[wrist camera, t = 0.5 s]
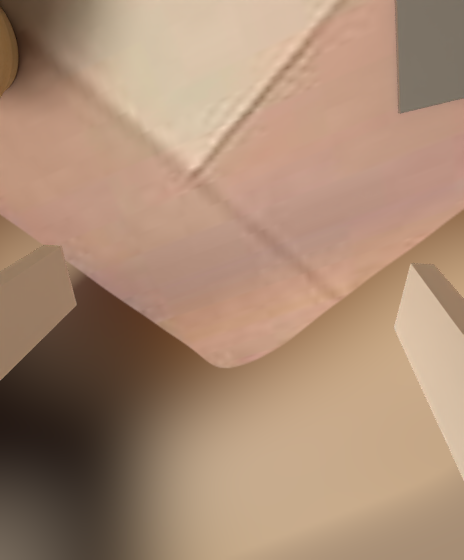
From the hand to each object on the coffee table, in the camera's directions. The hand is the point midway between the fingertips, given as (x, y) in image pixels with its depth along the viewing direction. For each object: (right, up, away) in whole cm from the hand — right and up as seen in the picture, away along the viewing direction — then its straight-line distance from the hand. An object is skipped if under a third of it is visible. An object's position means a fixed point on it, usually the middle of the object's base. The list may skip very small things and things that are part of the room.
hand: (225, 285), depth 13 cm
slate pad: (+19, +21, +16) cm, 32 cm away
